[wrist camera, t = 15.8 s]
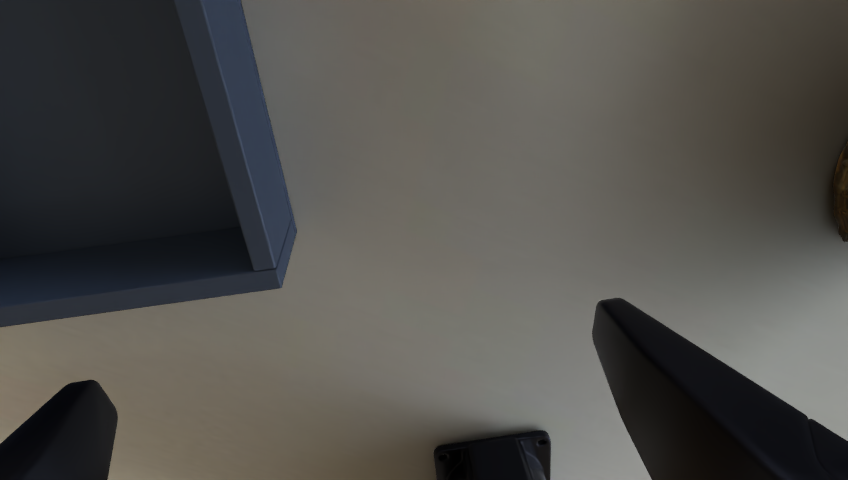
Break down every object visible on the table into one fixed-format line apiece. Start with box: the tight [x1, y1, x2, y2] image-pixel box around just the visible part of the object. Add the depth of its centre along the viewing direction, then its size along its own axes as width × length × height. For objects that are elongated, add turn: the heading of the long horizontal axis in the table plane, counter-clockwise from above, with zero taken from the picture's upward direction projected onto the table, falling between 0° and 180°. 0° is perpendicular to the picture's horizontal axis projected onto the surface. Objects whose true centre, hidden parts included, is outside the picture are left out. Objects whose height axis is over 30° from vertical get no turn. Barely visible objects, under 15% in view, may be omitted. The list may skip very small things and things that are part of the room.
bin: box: [0, 0, 297, 327], centre depth 16 cm, size 16×14×4 cm
